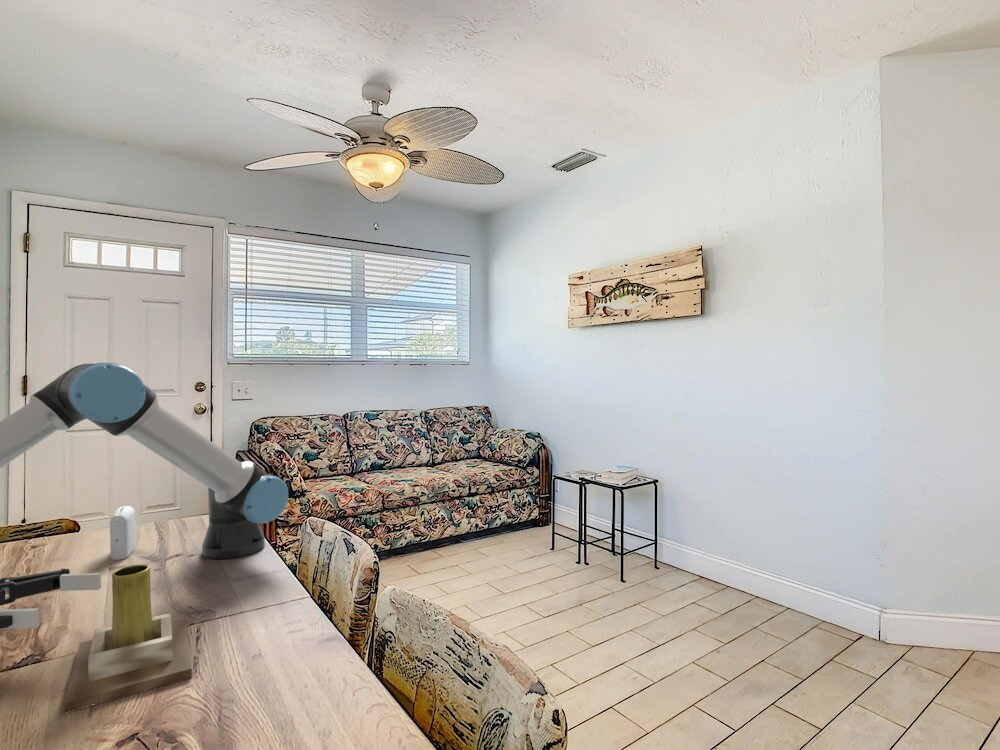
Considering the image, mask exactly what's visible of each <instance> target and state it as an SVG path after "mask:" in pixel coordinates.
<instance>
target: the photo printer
mask: <svg viewBox="0 0 1000 750" xmlns="http://www.w3.org/2000/svg"><path fill="white" fill-rule="evenodd" d="M136 530H137V529H136V511H135V509H134V508H133V507H132V506H130V505H126V506H125V505H124V506H120V507H118V508H117V509H115V511H114V512H113V514H112V515H111V517H110V520H109V531H110V532H109V535H110V536H109V538H110V540H109V543H110V544H109V545H110V547H109V548H110V560H113V561H121V560H125V559H126V558H129V556H130V555H132V553H133V551H135V548H136V546H137V545H136V544H137V535H136V534H137V531H136ZM120 559H121V560H120Z"/></svg>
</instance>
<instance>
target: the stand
mask: <svg viewBox="0 0 1000 750" xmlns="http://www.w3.org/2000/svg"><path fill="white" fill-rule="evenodd" d="M171 615H172V614H171V613H170V612H169V613H165V614H161V615H155V616H152V624H153V636H154V640H150V641H146V642H142V643H138V644H133V645H129V646H125V647H121V648H117V649H113V650H112V625H111V626H105V627H102V628H97V629H94V632H93V636H92V639H91V640H86V641H82V642H79V645H78V650H77V653H76V656H75V661H74V664H73V667H72V671H71V676H70V680H69V683H68V686H67V690H66V693H65V697H64V701H63V714H66V713H65V712H68V713H70V712H69V711H72V710H75V711H78V710H77V709H79V708H82V707H86V706H89V705H92V704H96V705H98V704H97V703H100V704H102V703H101V702H103V703H106V702H105V701H107V702H110V701H109V700H111V701H114V700H117V698H118V699H120V698H125V697H127V696H131V695H136V694H139V693H142V691H143V692H145V691H144V690H146V691H148V690H147V689H150V688H153V689H155V688H154V687H157V688H159V687H158V686H160V687H163V686H162V685H164V686H166V685H165V684H167V685H171V684H173V682H175V683H177V681H178V682H181V681H180V680H182V681H185V680H188V679H189V680H190V679H192V678H193V674H192V673H193V667H192V661H191V659H192V658H191V651H190V643H189V641H190V640H189V636H188V635H189V633H188V627H187V625H188V623H187V619H186V618H182V619H178V620H174V621H172V616H171ZM170 683H171V684H170ZM150 690H151V689H150ZM138 692H139V693H138ZM89 707H90V706H89ZM86 708H87V707H86ZM82 709H83V708H82ZM79 710H80V709H79ZM72 712H73V711H72Z"/></svg>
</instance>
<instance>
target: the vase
mask: <svg viewBox="0 0 1000 750" xmlns="http://www.w3.org/2000/svg"><path fill="white" fill-rule="evenodd" d="M150 569H151V568H150V565H148V564H133V565H127V566H124V567H121V568H118V569H115V570H114V571H113V572H112V573H111V580H112V583H111V594H112V623H111V626H112V650H113V649H117V648H121V647H125V646H129V645H133V644H138V643H142V642H146V641H150V640H154V636H153V624H152V617H153V615H152V601H151V599H152V597H151V570H150Z"/></svg>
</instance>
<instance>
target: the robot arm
mask: <svg viewBox="0 0 1000 750" xmlns="http://www.w3.org/2000/svg"><path fill="white" fill-rule="evenodd" d="M84 420H88V421H90V422H91V423H93V424H95V425H96V426H98V427H99V428H101V429H103V430H104V431H106V432H108V433H109V434H111V435H112V436H114V437H120V436H121V437H122V436H128V437H130V438H131V439H132V440H135V442H138V443H139V444H141V445H142V446H144V447H145V448H146V449H149V450H150V451H152V452H153V453H154V454H156V455H158V456H159V457H161V458H162V459H164V460H165V461H167V462H168V463H170V464H172V465H173V466H175V467H176V468H178V469H179V470H181V471H182V472H184V473H185V474H187V475H188V476H190V477H191V478H193V479H195V480H197V481H198V482H199V483H201V484H203V485H204V486H206V487H207V490H208V493H207V494H208V522H209V523H208V527H207V530H206V532H205V535H204V539H203V542H202V546H201V551H202V553H201V554H202V556H203V557H205V558H207V559H214V560H224V559H226V560H227V559H234V557H235V558H240V556H241V557H244V556H248V554H249V555H252V554H254V553H257V552H259V551H260V550H262V549H263V548H264V547H265V544H266V543H265V541H266V540H265V535H264V532H263V530H262V527H261V524H267V523H270V522H272V521H274V520H276V519H277V518H279V516H281V514H282V513H283V512H284V510H285V509H286V507H287V505H288V501H289V488H288V486H287V484H286V482H285V481H284V480H283V479H282V478H280V477H279V476H276V475H271V474H269V473H267V472H266V471H265V470H263V469H262V468H260V467H259V466H258V465H257V464H256V463H255V462H253V461H250V460H244V461H239V460H238V459H237V458H235V457H234V456H232V455H231V454H230V453H229V452H227V451H225V450H224V449H223V448H221V447H220V446H218V445H217V444H216V443H214V442H212V441H211V440H209V439H208V438H207V437H205V436H204V435H203V434H202V433H200V432H199V431H198V430H196V429H194V428H193V427H191V426H190V425H189V424H187V423H186V422H185V421H184V420H182V419H180V418H179V417H177V416H176V415H174V414H173V413H172V412H170V411H169V410H168V409H166V408H165V407H164V406H162V405H161V404H159V397H158V393H157V392H155V391H154V390H153V389H151V388H150V387H148V386H147V385H146V384H144V382H143V380H142V379H141V377H140V375H138V374H137V373H136V372H135V371H133V370H132V369H130V368H129V367H127V366H124V365H121V364H118V363H115V362H114V363H112V362H96V363H83V364H79V365H76V366H74V367H72V368H71V367H70V368H69V369H68V370H67V371H65V372H63V373H62V374H60V375H59V376H58V377H57V378H55V379H54V380H52V381H51V382H50V383H48V384H46V385H45V386H44V387H42V388H41V389H39V390H38V391H36V392H35V393H33V394H32V395H30V396H29V401H28V403H27V404H26V405H24V406H22V407H21V408H19V409H18V410H16V411H14V412H12V413H11V414H9V415H8V416H6V417H5V418H4V419H1V420H0V469H3V468H4V467H5V466H7V465H8V464H10V463H11V462H12V461H14V460H16V459H17V458H19V457H20V456H22V455H23V454H24V453H26V452H27V451H29V450H30V449H32V448H34V447H35V446H37V445H38V444H39V443H41V442H42V441H44V440H46V439H47V438H48V437H50V436H52V435H53V434H54V433H56V432H57V431H68V430H70V429H71V428H72V427H74V426H75V425H77V424H79V423H80V422H82V421H84ZM251 553H252V554H251ZM70 572H71V571H70V568H61V569H59V570H58V569H57V570H51V571H46V572H40V573H34V574H33V573H32V574H27V575H22V576H13V577H12V576H11V577H2V578H0V607H1V606H4V605H8V604H12V603H15V601H16V600H18V599H21V598H26V597H31V596H35V595H38V594H39V595H40V594H44V593H47V592H51V591H56V590H60V592H67V591H68V592H71V591H73V592H74V591H98V590H101V588H102V580H101V579H102V578H101V573H100V572H99V573H98V572H95V573H91V572H90V573H89V572H88V573H70ZM6 595H8V597H7V598H6ZM40 621H41V620H40V608H36V607H33V608H10V609H8V608H6V609H2V608H1V609H0V630H12V629H14V630H15V629H17V630H19V629H20V630H21V629H37V628H38V627H39V626H40V625H41V624H40V623H41V622H40Z"/></svg>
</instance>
